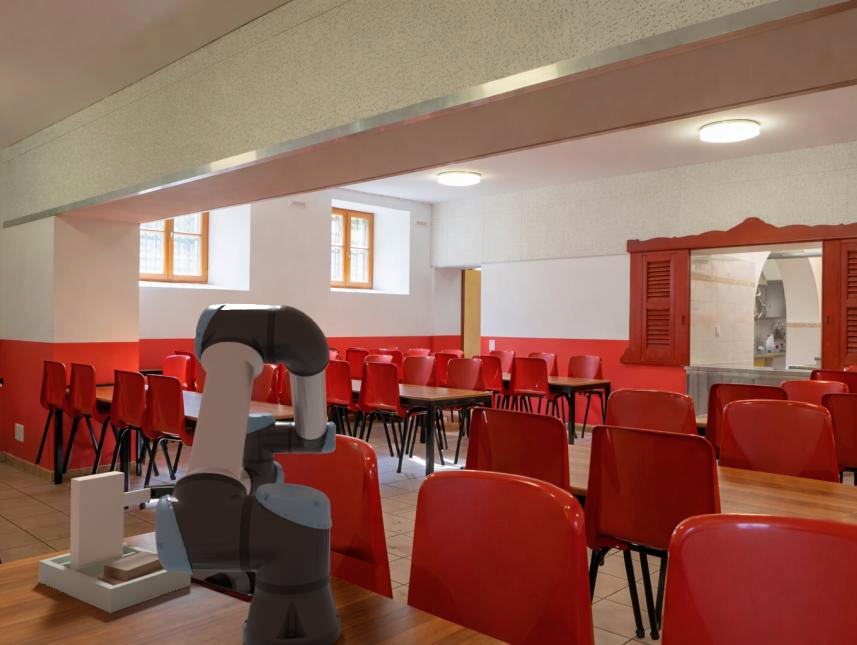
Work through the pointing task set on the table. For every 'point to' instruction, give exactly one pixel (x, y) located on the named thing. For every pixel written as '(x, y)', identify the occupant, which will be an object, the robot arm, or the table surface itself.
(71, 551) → the white rectangular block
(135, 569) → the offcut upper
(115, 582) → the offcut lower
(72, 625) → the table surface
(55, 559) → the tray
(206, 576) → the smartphone
